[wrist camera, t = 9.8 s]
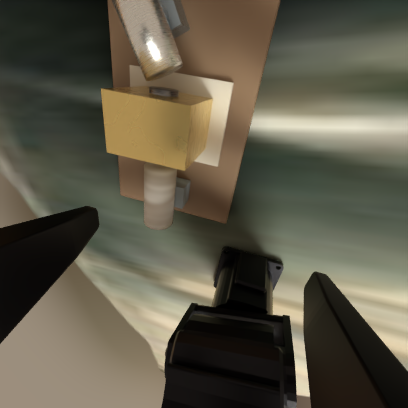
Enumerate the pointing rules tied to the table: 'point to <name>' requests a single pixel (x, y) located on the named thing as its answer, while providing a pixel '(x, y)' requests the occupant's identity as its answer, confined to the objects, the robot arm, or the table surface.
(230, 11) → the base plate
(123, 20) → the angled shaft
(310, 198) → the table surface
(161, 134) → the yellow knobbed block
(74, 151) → the table surface
